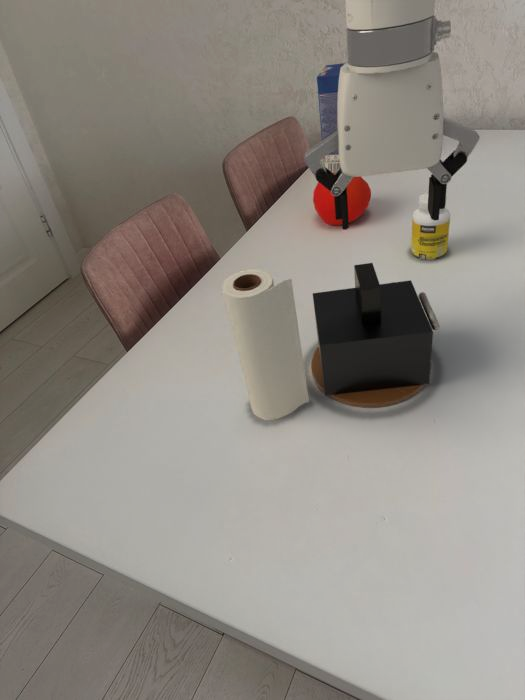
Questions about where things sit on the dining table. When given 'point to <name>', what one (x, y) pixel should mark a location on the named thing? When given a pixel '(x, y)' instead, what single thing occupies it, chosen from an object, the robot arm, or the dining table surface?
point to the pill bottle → (429, 232)
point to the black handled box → (373, 341)
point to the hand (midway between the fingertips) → (388, 219)
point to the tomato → (355, 194)
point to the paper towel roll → (267, 342)
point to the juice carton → (329, 109)
